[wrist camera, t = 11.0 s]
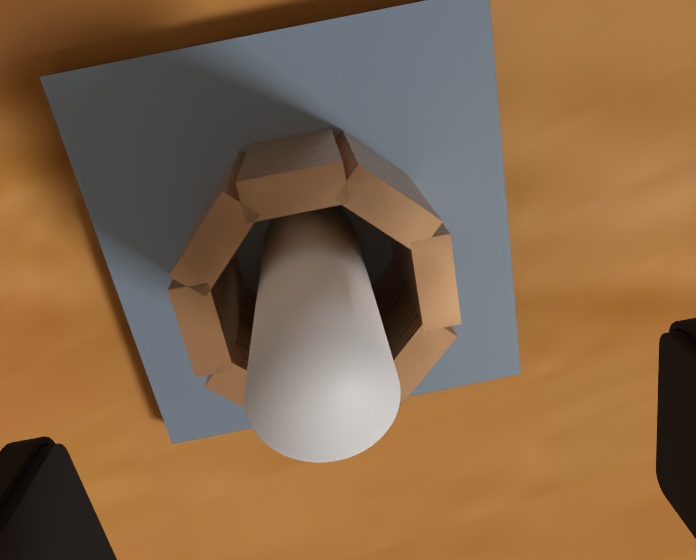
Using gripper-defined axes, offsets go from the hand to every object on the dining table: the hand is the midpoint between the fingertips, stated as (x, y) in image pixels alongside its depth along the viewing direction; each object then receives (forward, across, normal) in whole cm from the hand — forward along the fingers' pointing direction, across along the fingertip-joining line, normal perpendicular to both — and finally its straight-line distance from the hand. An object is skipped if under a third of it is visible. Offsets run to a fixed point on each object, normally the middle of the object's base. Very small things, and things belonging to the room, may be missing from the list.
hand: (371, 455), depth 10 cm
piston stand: (+12, +1, 0) cm, 12 cm away
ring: (+11, +1, 0) cm, 11 cm away
